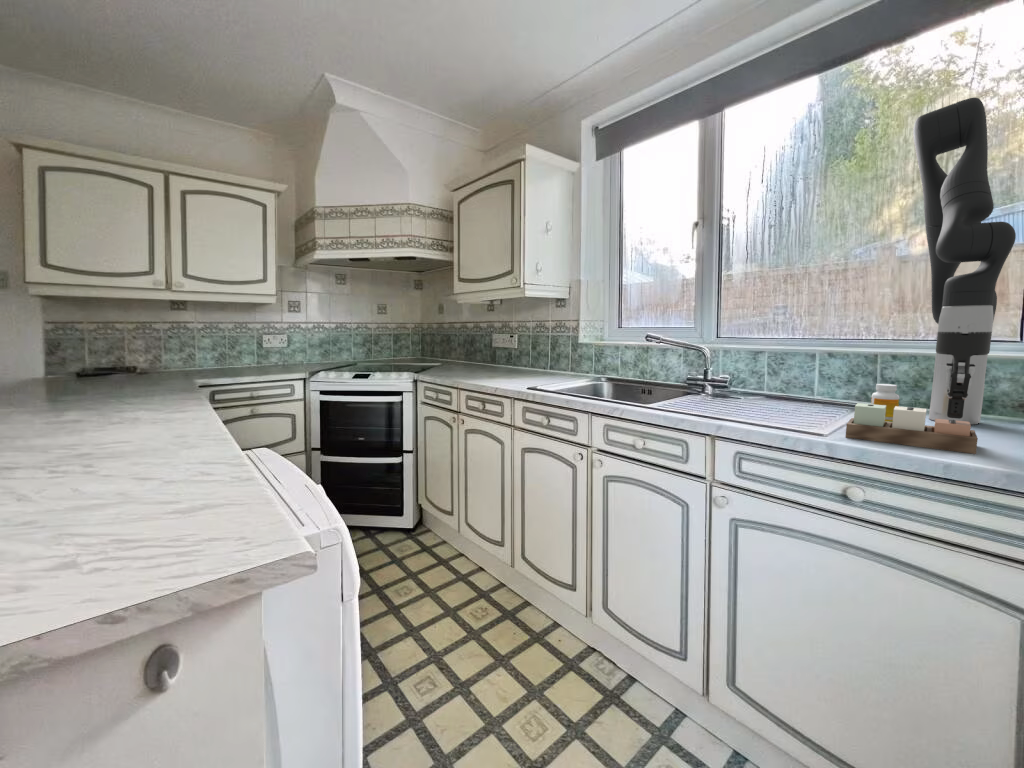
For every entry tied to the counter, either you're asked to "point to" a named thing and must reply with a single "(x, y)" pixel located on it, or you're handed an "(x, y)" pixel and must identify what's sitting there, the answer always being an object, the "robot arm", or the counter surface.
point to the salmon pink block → (952, 427)
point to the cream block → (909, 418)
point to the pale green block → (869, 414)
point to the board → (913, 437)
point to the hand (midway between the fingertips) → (954, 417)
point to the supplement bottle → (886, 399)
